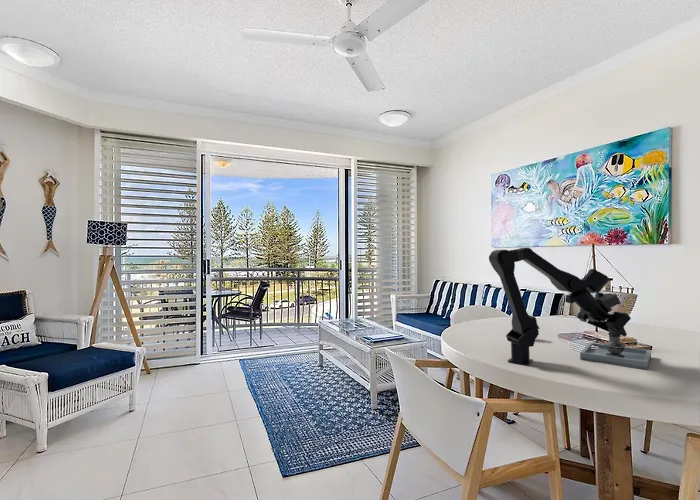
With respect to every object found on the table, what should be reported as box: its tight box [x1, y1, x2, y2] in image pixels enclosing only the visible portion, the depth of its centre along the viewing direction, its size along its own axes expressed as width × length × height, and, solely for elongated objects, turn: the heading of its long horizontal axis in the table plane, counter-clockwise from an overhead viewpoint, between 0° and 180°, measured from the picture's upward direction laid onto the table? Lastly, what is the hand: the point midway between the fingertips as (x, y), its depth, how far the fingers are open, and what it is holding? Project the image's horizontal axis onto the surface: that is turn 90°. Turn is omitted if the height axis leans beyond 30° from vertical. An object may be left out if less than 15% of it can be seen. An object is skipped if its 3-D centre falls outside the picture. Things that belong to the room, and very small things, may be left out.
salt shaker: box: [603, 330, 626, 358], centre depth 128 cm, size 6×6×12 cm
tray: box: [579, 342, 652, 371], centre depth 127 cm, size 18×18×2 cm
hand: (618, 333), depth 128 cm, fingers open, 6 cm apart
